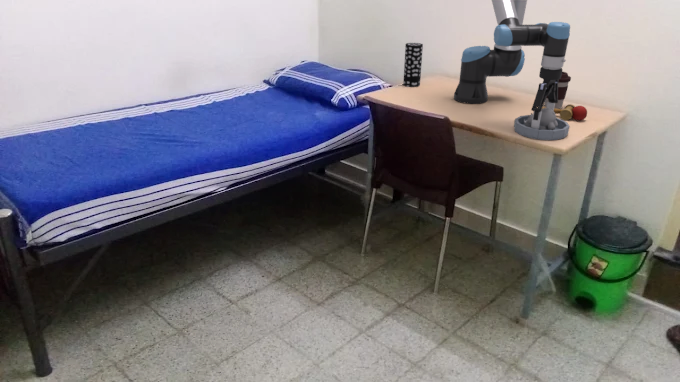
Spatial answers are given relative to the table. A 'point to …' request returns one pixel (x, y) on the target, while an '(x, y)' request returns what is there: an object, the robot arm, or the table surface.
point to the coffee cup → (561, 90)
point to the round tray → (539, 134)
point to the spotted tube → (412, 64)
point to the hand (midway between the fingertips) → (541, 123)
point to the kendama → (571, 112)
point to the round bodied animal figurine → (544, 120)
